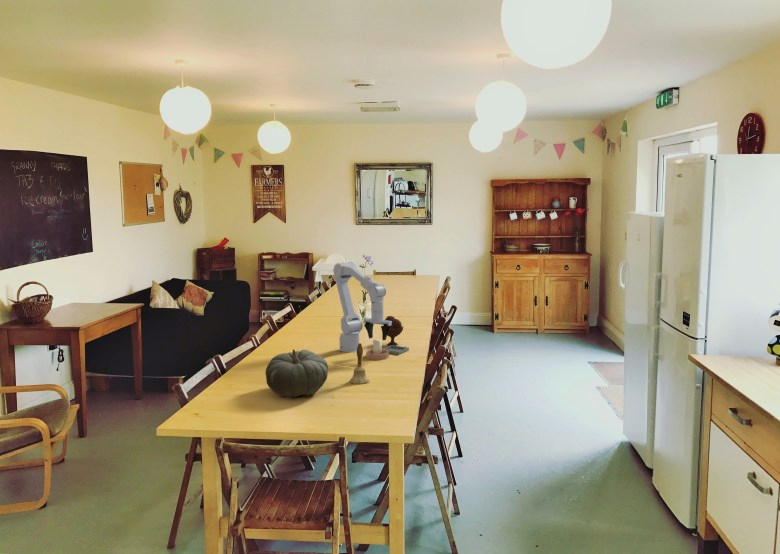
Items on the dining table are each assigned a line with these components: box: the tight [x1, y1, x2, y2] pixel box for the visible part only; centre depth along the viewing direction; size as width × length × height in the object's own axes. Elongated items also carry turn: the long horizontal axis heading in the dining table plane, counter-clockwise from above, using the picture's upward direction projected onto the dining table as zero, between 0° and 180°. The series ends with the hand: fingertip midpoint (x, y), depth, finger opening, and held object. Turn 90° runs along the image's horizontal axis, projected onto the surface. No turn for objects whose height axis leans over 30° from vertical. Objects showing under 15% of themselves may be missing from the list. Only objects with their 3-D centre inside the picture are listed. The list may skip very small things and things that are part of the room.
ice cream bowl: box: [384, 315, 404, 347], centre depth 315 cm, size 11×11×15 cm
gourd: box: [265, 349, 329, 398], centre depth 239 cm, size 25×25×17 cm
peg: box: [372, 339, 383, 354], centre depth 290 cm, size 4×4×8 cm
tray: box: [382, 345, 410, 356], centre depth 300 cm, size 10×10×2 cm
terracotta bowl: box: [365, 348, 390, 361], centre depth 290 cm, size 11×11×3 cm
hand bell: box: [349, 342, 370, 385], centre depth 253 cm, size 8×8×16 cm
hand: (377, 339), depth 289 cm, fingers open, 7 cm apart
